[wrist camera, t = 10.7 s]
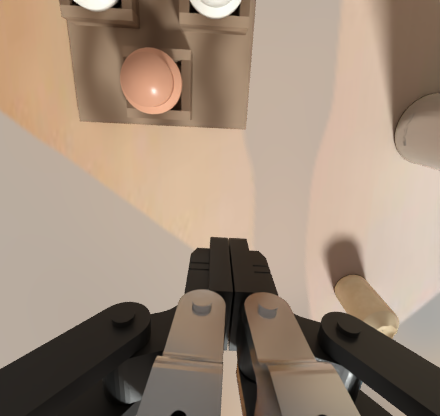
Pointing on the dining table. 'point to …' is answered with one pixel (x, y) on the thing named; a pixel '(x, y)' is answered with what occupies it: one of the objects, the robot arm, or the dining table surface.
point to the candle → (366, 304)
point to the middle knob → (151, 80)
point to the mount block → (175, 48)
